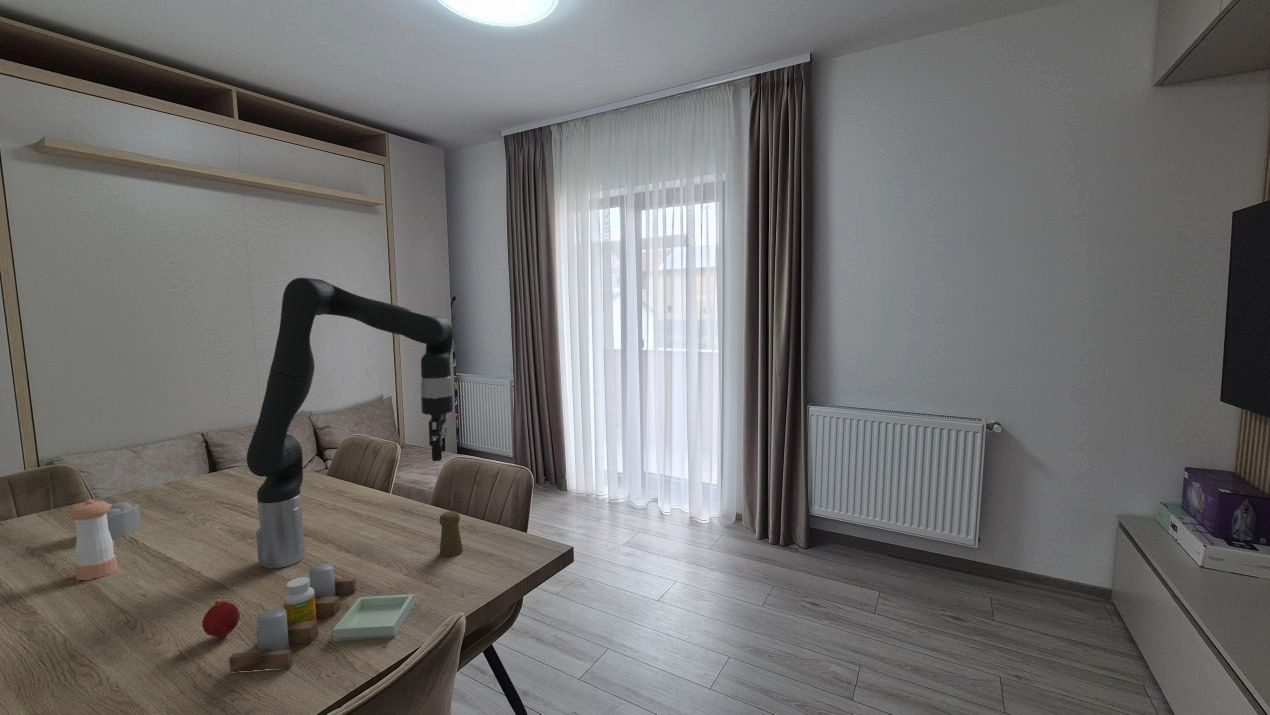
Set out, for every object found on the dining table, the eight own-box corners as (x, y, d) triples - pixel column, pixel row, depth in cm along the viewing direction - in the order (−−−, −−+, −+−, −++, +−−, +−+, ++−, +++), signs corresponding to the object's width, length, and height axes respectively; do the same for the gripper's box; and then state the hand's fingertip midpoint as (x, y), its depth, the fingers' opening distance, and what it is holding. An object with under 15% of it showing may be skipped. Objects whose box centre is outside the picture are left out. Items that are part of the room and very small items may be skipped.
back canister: (307, 609, 113) (305, 574, 113) (318, 597, 118) (316, 563, 117) (329, 607, 114) (327, 573, 113) (339, 596, 118) (337, 562, 118)
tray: (333, 641, 102) (332, 629, 102) (360, 608, 113) (359, 597, 113) (394, 637, 103) (393, 625, 103) (414, 604, 114) (413, 594, 114)
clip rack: (230, 673, 93) (229, 657, 93) (311, 593, 120) (310, 580, 120) (288, 669, 94) (287, 653, 94) (356, 590, 121) (355, 578, 120)
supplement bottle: (293, 638, 103) (290, 591, 102) (280, 629, 106) (277, 584, 105) (321, 624, 108) (318, 579, 107) (308, 616, 111) (305, 572, 110)
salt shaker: (124, 568, 133) (116, 496, 131) (86, 583, 126) (78, 506, 124) (107, 564, 135) (99, 493, 134) (69, 578, 128) (60, 503, 127)
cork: (455, 558, 136) (453, 518, 135) (434, 556, 137) (432, 516, 136) (467, 548, 142) (465, 509, 141) (447, 546, 143) (445, 507, 142)
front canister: (254, 664, 96) (250, 623, 95) (269, 648, 100) (266, 609, 99) (280, 662, 96) (276, 621, 95) (294, 646, 100) (291, 607, 100)
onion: (218, 629, 107) (214, 592, 106) (247, 627, 107) (244, 590, 106) (196, 647, 101) (193, 608, 100) (228, 645, 101) (224, 606, 100)
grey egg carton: (76, 538, 152) (73, 509, 152) (135, 522, 163) (132, 496, 163) (85, 546, 147) (82, 516, 146) (146, 529, 158) (143, 502, 157)
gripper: (425, 390, 139) (427, 450, 140) (416, 399, 125) (419, 465, 126) (454, 389, 140) (456, 448, 142) (449, 398, 127) (451, 462, 128)
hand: (439, 456), depth 134 cm, fingers open, 8 cm apart
